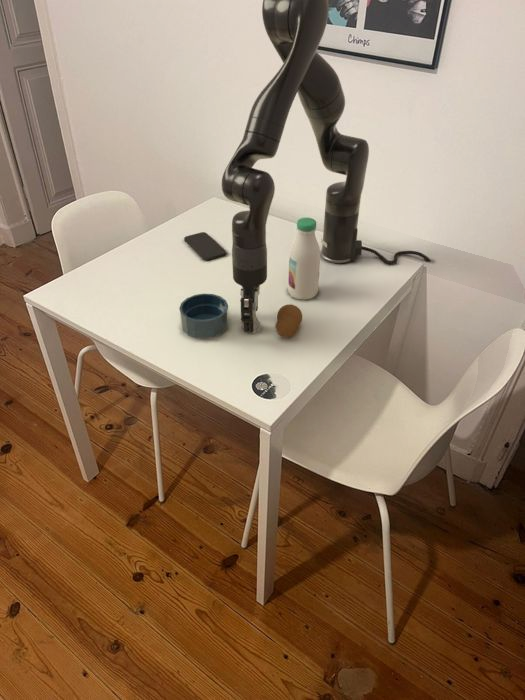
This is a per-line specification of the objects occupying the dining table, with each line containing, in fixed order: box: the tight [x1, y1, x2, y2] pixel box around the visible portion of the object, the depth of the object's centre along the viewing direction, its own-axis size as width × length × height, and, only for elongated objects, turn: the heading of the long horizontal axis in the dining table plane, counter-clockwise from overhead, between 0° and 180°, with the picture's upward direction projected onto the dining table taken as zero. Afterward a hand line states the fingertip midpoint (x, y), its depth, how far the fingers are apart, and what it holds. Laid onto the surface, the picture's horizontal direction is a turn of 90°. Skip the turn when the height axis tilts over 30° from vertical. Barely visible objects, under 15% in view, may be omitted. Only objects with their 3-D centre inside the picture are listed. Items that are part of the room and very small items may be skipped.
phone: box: [183, 231, 227, 261], centre depth 157 cm, size 7×1×15 cm
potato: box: [275, 303, 303, 339], centre depth 123 cm, size 6×9×6 cm
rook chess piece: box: [241, 302, 261, 334], centre depth 124 cm, size 4×4×8 cm
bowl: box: [178, 293, 230, 339], centre depth 125 cm, size 11×11×6 cm
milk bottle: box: [287, 217, 321, 300], centre depth 132 cm, size 8×8×20 cm
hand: (251, 320), depth 125 cm, fingers open, 8 cm apart
